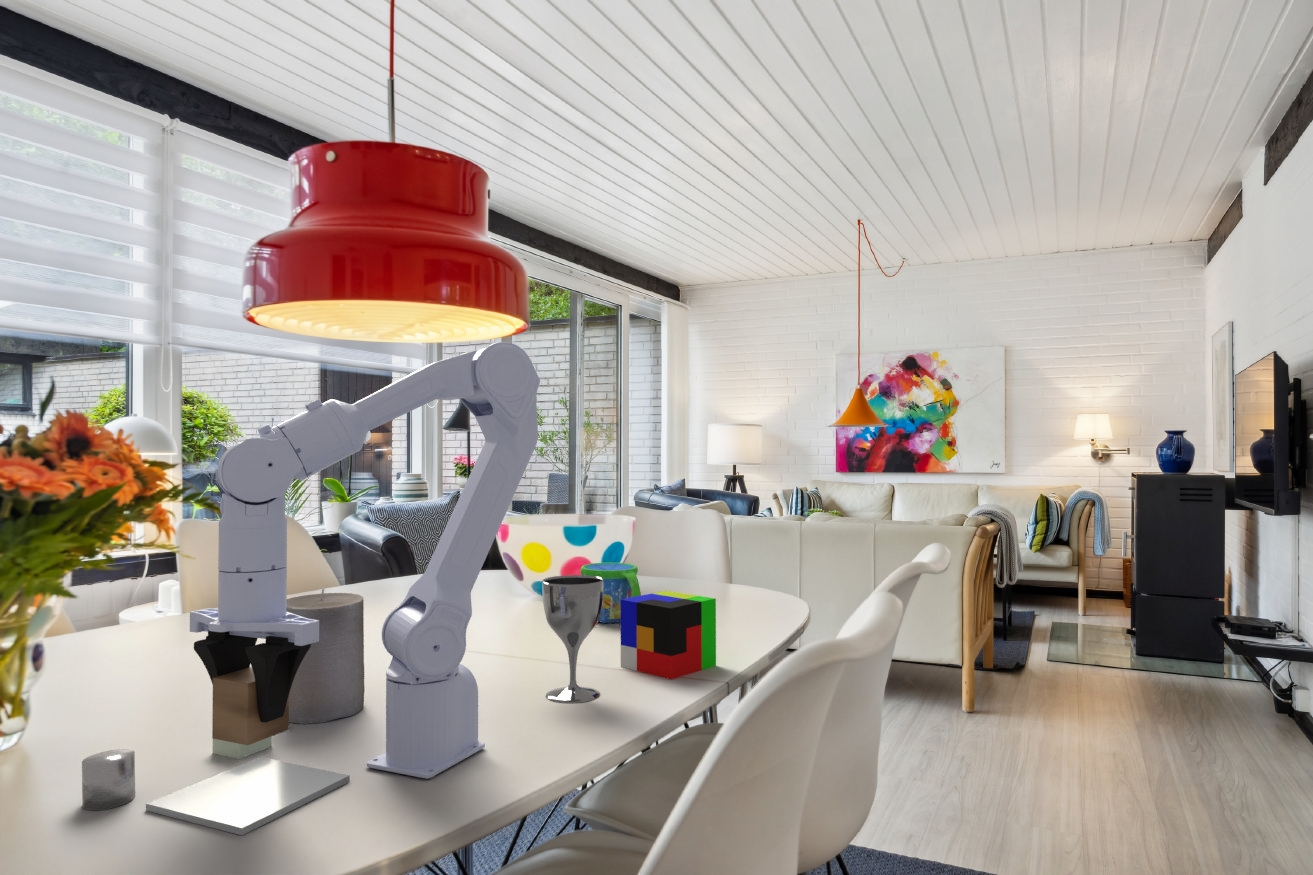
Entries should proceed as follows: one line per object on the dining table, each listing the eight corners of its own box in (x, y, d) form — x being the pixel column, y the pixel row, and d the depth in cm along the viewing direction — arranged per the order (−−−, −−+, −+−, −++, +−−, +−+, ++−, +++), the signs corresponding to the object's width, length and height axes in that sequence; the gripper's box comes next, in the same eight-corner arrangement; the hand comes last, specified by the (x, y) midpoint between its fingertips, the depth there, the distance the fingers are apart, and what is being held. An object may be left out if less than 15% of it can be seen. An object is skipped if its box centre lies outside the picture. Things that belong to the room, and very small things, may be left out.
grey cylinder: (120, 788, 77) (119, 746, 77) (144, 796, 75) (143, 753, 75) (73, 805, 74) (72, 760, 74) (97, 813, 72) (96, 768, 72)
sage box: (245, 741, 90) (245, 709, 90) (271, 747, 88) (271, 714, 88) (212, 754, 86) (212, 720, 86) (239, 759, 84) (239, 726, 85)
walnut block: (254, 723, 78) (254, 665, 78) (288, 729, 77) (289, 670, 77) (212, 738, 74) (212, 677, 74) (247, 745, 72) (248, 683, 73)
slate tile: (260, 762, 83) (259, 756, 83) (349, 781, 79) (349, 775, 79) (145, 810, 72) (145, 803, 72) (242, 835, 68) (242, 827, 68)
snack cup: (656, 623, 150) (656, 568, 151) (609, 630, 144) (609, 573, 144) (609, 610, 163) (609, 559, 163) (563, 616, 157) (563, 563, 157)
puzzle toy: (620, 667, 120) (620, 599, 120) (666, 654, 128) (665, 590, 128) (671, 680, 113) (670, 608, 114) (716, 666, 121) (715, 598, 121)
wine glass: (535, 690, 108) (535, 577, 109) (592, 683, 112) (591, 573, 112) (551, 707, 101) (551, 586, 101) (612, 699, 104) (611, 582, 105)
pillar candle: (302, 698, 105) (301, 582, 105) (376, 698, 105) (376, 582, 105) (263, 725, 95) (262, 596, 95) (345, 725, 95) (344, 596, 95)
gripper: (159, 569, 75) (158, 717, 75) (274, 579, 69) (273, 740, 69) (227, 560, 81) (226, 696, 81) (337, 568, 76) (336, 715, 75)
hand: (252, 715), depth 76 cm, fingers closed on walnut block, 4 cm apart
